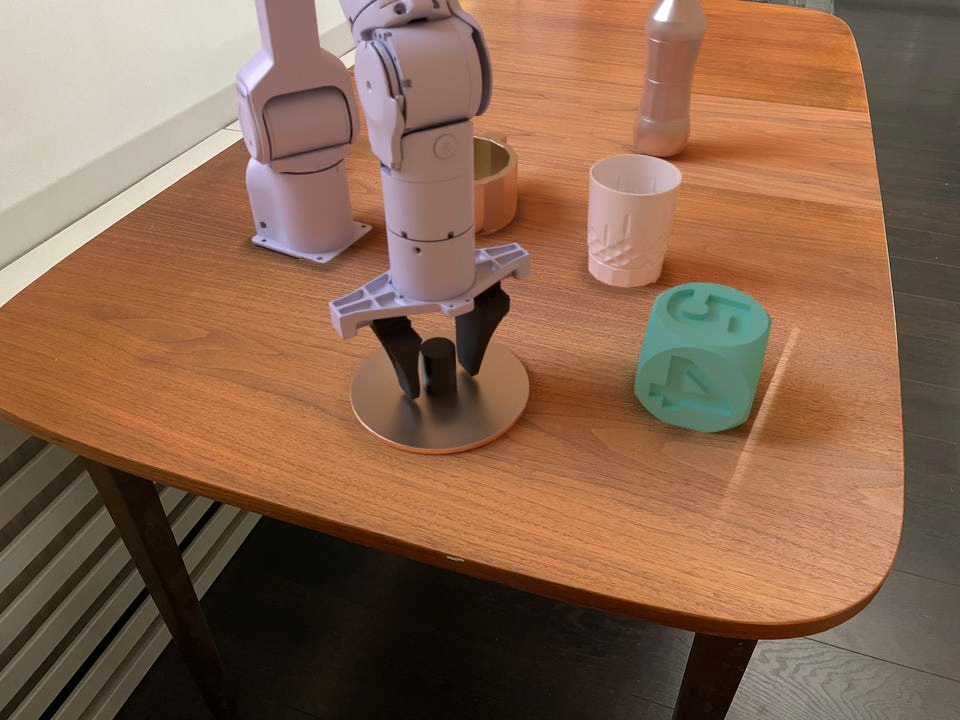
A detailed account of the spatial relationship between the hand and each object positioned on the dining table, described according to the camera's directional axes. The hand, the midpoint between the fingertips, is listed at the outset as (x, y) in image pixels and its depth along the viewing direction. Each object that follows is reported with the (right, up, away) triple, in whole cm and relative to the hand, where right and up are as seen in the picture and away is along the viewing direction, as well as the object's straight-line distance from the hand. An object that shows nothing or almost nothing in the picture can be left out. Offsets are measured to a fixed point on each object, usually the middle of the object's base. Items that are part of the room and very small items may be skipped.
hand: (439, 379), depth 58 cm
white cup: (+17, +10, +14) cm, 24 cm away
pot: (+1, +18, +24) cm, 30 cm away
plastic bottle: (+25, +27, +35) cm, 50 cm away
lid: (0, -1, +1) cm, 1 cm away
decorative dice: (+19, -2, +1) cm, 19 cm away
